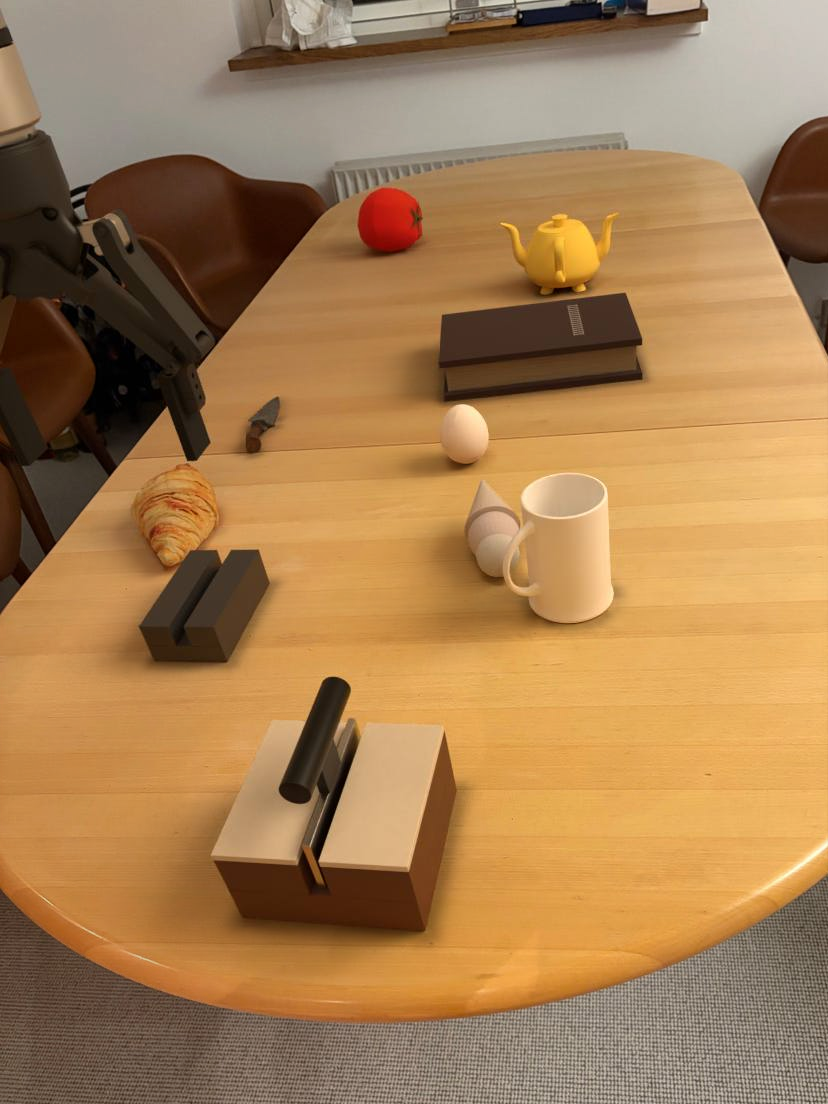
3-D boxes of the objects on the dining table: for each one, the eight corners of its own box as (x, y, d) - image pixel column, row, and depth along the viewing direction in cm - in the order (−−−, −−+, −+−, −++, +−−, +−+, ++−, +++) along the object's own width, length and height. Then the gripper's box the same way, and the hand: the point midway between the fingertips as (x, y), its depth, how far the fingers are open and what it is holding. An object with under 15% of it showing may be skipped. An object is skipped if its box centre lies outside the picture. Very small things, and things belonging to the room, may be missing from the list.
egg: (501, 456, 115) (495, 401, 111) (469, 478, 112) (461, 421, 107) (466, 445, 119) (459, 390, 114) (434, 465, 116) (425, 410, 111)
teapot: (502, 307, 155) (495, 236, 147) (509, 276, 166) (503, 209, 159) (621, 297, 152) (620, 225, 144) (620, 267, 163) (619, 198, 155)
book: (624, 326, 142) (624, 288, 139) (642, 379, 127) (642, 338, 124) (447, 347, 144) (442, 310, 141) (444, 401, 130) (438, 362, 126)
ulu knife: (308, 888, 64) (269, 793, 58) (351, 761, 73) (322, 666, 67) (337, 890, 64) (302, 795, 57) (378, 762, 73) (351, 667, 66)
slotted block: (154, 660, 92) (138, 626, 89) (202, 583, 102) (189, 549, 99) (227, 662, 90) (213, 627, 88) (270, 582, 100) (258, 549, 97)
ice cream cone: (489, 506, 106) (508, 598, 97) (444, 487, 103) (460, 580, 94) (519, 469, 103) (542, 560, 93) (474, 448, 100) (493, 540, 90)
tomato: (364, 267, 190) (423, 268, 186) (340, 225, 178) (402, 224, 174) (378, 216, 193) (436, 216, 189) (355, 170, 181) (417, 169, 177)
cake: (241, 917, 67) (210, 855, 62) (295, 782, 77) (271, 719, 72) (425, 931, 65) (407, 867, 60) (457, 789, 74) (443, 724, 69)
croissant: (209, 593, 106) (223, 536, 101) (117, 576, 102) (127, 517, 98) (216, 498, 122) (228, 446, 117) (137, 481, 118) (146, 427, 114)
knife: (257, 441, 123) (223, 430, 123) (257, 455, 124) (223, 445, 124) (306, 397, 136) (275, 387, 136) (305, 410, 137) (274, 401, 137)
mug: (530, 649, 86) (519, 544, 79) (485, 605, 92) (470, 504, 85) (631, 601, 90) (629, 496, 82) (581, 561, 96) (575, 461, 88)
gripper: (198, 104, 55) (287, 424, 68) (-152, 143, 60) (-4, 435, 73) (145, 133, 49) (254, 476, 63) (-237, 174, 54) (-60, 484, 68)
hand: (115, 455), depth 68 cm, fingers open, 13 cm apart
